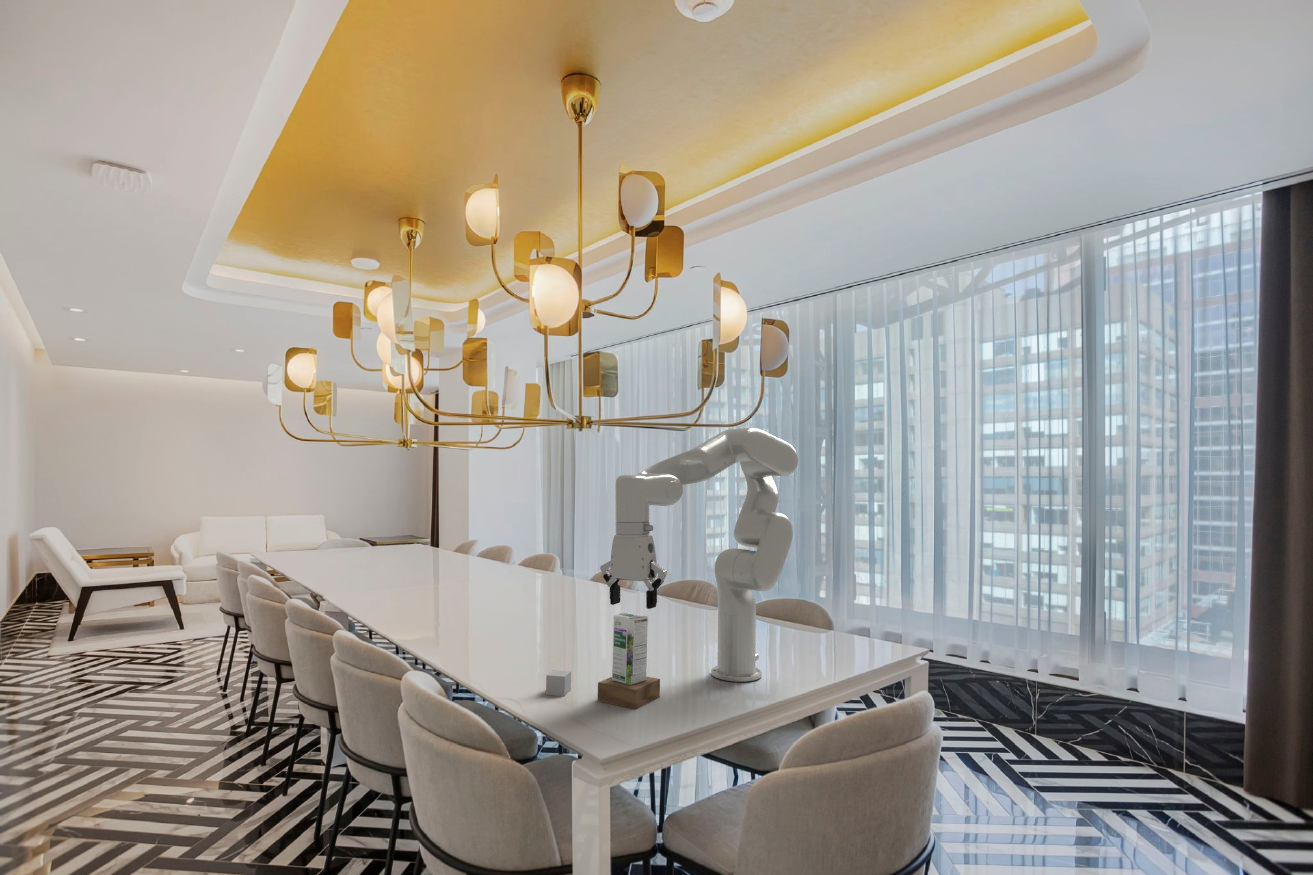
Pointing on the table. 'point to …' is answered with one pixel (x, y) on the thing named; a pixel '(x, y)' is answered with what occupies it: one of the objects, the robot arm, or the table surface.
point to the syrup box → (629, 648)
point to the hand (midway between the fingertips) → (633, 605)
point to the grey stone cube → (558, 683)
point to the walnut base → (629, 692)
